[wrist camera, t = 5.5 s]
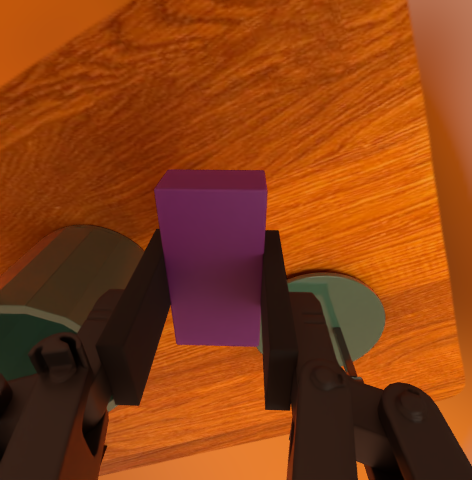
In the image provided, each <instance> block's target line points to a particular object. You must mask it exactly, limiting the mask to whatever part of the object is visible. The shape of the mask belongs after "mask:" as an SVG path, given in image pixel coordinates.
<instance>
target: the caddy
mask: <svg viewBox="0 0 472 480" xmlns="http://www.w3.org/2000/svg"><path fill="white" fill-rule="evenodd" d="M144 252H145V251H144V250H143V249H142V248H141V247H139V246H138V245H137V244H136V243H134V242H133V241H132V240H130V239H129V238H127V237H125V236H123V235H121V234H119V233H117V232H115V231H112V230H109V229H106V228H102V227H98V226H92V225H73V226H68V227H64V228H61V229H58V230H56V231H54V232H52V233H50V234H49V235H47V236H45V237H43V238H42V239H41V240H40V241H39V242H38V243H37V244H36V245H34V246H33V247H32V248H31V249H30V250H29V251H28V252H27V253H26V254H24V255H23V256H22V257H21V258H20V259H19V260H18V261H17V262H15V263H14V264H13V265H12V266H11V267H10V268H9V269H8V270H7V271H5V272H4V273H3V274H2V275H1V276H0V373H1V374H2V375H3V376H4V378H5V379H6V381H8V380H12V379H17V378H21V377H25V376H29V375H33V374H36V373H37V372H36V370H35V368H34V366H33V364H32V362H31V360H30V358H29V357H28V355H27V354H28V353H29V352H30V350H31V349H32V348H33V346H35V345H36V344H37V343H38V342H40V341H41V340H42V339H44V338H46V337H48V336H50V335H53V334H57V333H61V332H72V333H74V334H77V333H78V331H79V329H80V328H81V326H82V324H83V323H84V321H85V320H87V316H88V315H89V313H90V311H92V308H93V306H94V305H95V303H96V302H97V300H98V298H99V297H100V296H102V295H103V294H104V293H105V292H107V291H108V290H109V289H125V288H126V286H127V284H128V282H129V280H130V278H131V276H132V275H133V273H134V271H135V269H136V267H137V265H138V263H139V261H140V259H141V257H142V255H143V254H144ZM116 406H118V405H115V402H114V399H113V396H112V395H111V398H110V400H109V403H108V405H107V411H108V412H109V411H111V410H112V409H114V408H115V407H116Z"/></svg>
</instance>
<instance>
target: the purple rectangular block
mask: <svg viewBox="0 0 472 480" xmlns="http://www.w3.org/2000/svg"><path fill="white" fill-rule="evenodd" d="M154 193H155V200H156V207H157V214H158V220H159V227H160V234H161V241H162V248H163V253H164V260H165V267H166V274H167V281H168V288H169V294H170V301H171V309H172V316H173V323H174V330H175V337H176V343H177V344H178V345H215V346H254V347H258V346H259V341H260V322H261V288H262V268H263V254H264V246H265V227H266V208H267V185H266V178H265V172H264V171H263V170H167V172H166V173H165V174H164V176H163V177H162V179H161V180H160V182H159V183H158V184H157V186H156V187H155V189H154Z"/></svg>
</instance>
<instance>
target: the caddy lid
mask: <svg viewBox="0 0 472 480" xmlns="http://www.w3.org/2000/svg"><path fill="white" fill-rule="evenodd" d="M287 284H288V290H289V292H312V293H313V294H314V295H315V296H316V298H317V299H318V300H319V301H320V303H321V306H322V310H323V315H324V317H325V320H326V325H327V327H328V331H329V334H330V338H331V341H332V345H333V348H334V352H335V355H336V359H337V361H338V363H339V365H340V367H341V366H344V369H345V372H346V373H347V374H348V375H349V376H350V377H352V378H353V379H355V380H356V381H359V382H361V383H364V381H363V379H362V378H361V377H357V374H356V371H355V368H354V365H353V361H355V360H357V359H359V358H360V357H362V356H363V355H365V354H366V353H367V352H368V351H369V350H370V349H372V348H373V346H374V345H375V344H376V343H377V342H378V340H379V338H380V337H381V335H382V332H383V330H384V326H385V311H384V308H383V305H382V303H381V301H380V299H379V297H378V296H377V294H376V293H375V292H374V291H373V290H372V289H371V288H370V287H369V286H368V285H366V284H365V283H363V282H361V281H360V280H357V279H355V278H353V277H350V276H347V275H343V274H338V273H329V272H319V273H309V274H304V275H300V276H296V277H293V278H291V279H288V280H287ZM257 349H258V350H259V351H260V352H261V353H262V354H263V347H262V325H261V322H260V341H259V346H258V347H257Z"/></svg>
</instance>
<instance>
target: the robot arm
mask: <svg viewBox="0 0 472 480" xmlns="http://www.w3.org/2000/svg"><path fill="white" fill-rule="evenodd" d="M170 305H171V301H170V294H169V288H168V281H167V274H166V267H165V260H164V253H163V248H162V241H161V234H160V229H156V231H155V233H154V234H153V236H152V238H151V240H150V242H149V244H148V246H147V248H146V250H145V252H144V254H143V255H142V257H141V259H140V261H139V263H138V265H137V267H136V269H135V271H134V273H133V275H132V276H131V278H130V280H129V282H128V284H127V286H126V288H125V289H109V290H108V291H107V292H105V293H104V294H103V295H102V296H100V297H99V298H98V300H97V302H96V303H95V305H94V306H93V308H92V311H90V313H89V315H88V316H87V320H85V321H84V323H83V324H82V326H81V328H80V329H79V331H78V333H77V334H74V333H72V332H61V333H57V334H53V335H50V336H48V337H46V338H44V339H42V340H41V341H40V342H38V343H37V344H36V345H35V346H33V348H32V349H31V350H30V352H29V353H28V354H27V355H28V357H29V358H30V360H31V362H32V364H33V366H34V368H35V370H36V372H37V373H36V374H33V375H29V376H25V377H21V378H17V379H12V380H8V381H6V379H5V378H4V376H3V375H2V374H1V373H0V480H98V476H99V470H100V465H101V459H102V454H103V448H104V443H105V437H106V432H107V426H108V421H109V418H108V411H107V405H108V403H109V400H110V398H111V395H112V396H113V399H114V402H115V405H136V406H139V405H140V401H141V398H142V395H143V392H144V388H145V385H146V382H147V379H148V376H149V372H150V369H151V366H152V363H153V359H154V356H155V353H156V350H157V347H158V343H159V340H160V337H161V334H162V330H163V327H164V324H165V321H166V318H167V314H168V311H169V308H170ZM261 325H262V347H263V369H264V391H265V410H288V411H290V406H291V407H292V416H293V418H292V424H291V430H290V437H289V440H290V446H289V457H288V469H287V480H358V478H357V464H356V461H357V462H360V463H363V464H364V466H365V469H366V473H367V476H368V479H369V480H472V466H471V464H470V462H469V461H468V459H467V457H466V455H465V454H464V452H463V450H462V448H461V447H460V445H459V443H458V441H457V440H456V438H455V436H454V434H453V433H452V431H451V429H450V427H449V426H448V424H447V422H446V421H445V419H444V417H443V415H442V413H441V412H440V410H439V408H438V407H437V405H436V404H435V403H434V401H433V400H432V399H431V397H430V396H428V395H427V394H426V393H425V392H423V391H422V390H421V389H419V388H417V387H415V386H413V385H410V384H406V383H400V382H398V383H393V384H390V385H388V386H387V387H386V388H385V389H384V390H382V389H379V388H376V387H373V386H370V385H367V384H364V383H361V382H359V381H356V380H355V379H353V378H352V377H350V376H349V375H348V374H347V373H346V372H345V371H344V370H343V369H342V367H340V365H339V363H338V361H337V359H336V355H335V352H334V348H333V345H332V341H331V338H330V334H329V331H328V327H327V325H326V320H325V317H324V315H323V310H322V306H321V303H320V301H319V300H318V299H317V298H316V296H315V295H314V294H313V293H312V292H289V290H288V284H287V278H286V272H285V266H284V260H283V254H282V248H281V242H280V236H279V230H265V246H264V254H263V268H262V288H261Z"/></svg>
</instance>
